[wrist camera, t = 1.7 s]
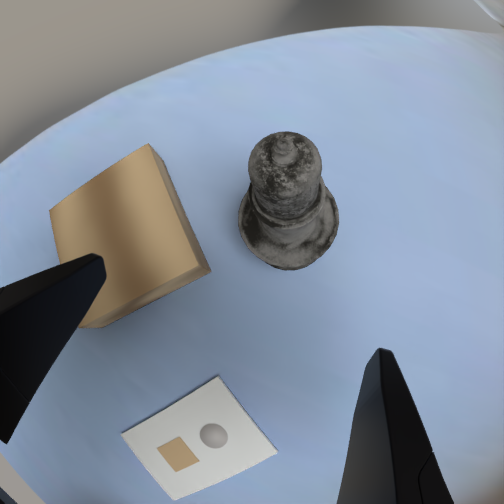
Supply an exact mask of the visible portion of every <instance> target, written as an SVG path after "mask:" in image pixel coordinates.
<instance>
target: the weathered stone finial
mask: <svg viewBox="0 0 504 504" xmlns="http://www.w3.org/2000/svg"><path fill="white" fill-rule="evenodd" d="M321 171H322V162H321V157H320V154H319V152H318V149H317V148H316V146H315V145H314V144H313V142H312V141H310V140H309V139H308V138H306V137H305V136H303V135H301V134H298V133H294V132H277V133H274V134H270V135H269V136H267V137H265V138H263V139H262V140H261V141H260V142H258V143H257V144H256V146H255V147H254V149H253V150H252V152H251V155H250V158H249V162H248V172H249V176H250V180H251V183H250V186H249V190H248V191H247V193H246V194H245V196H244V198H243V199H242V202H241V205H240V209H239V216H238V225H239V229H240V233H241V237H242V238H243V240H244V242H245V244H246V245H247V247H248V249H250V250H251V251H252V252H253V253H254V254H255V255H256V256H257V257H258V258H259V259H261V260H263V261H265V262H266V263H267V264H269V265H271V266H273V267H274V268H278V269H282V270H298V269H301V268H305V267H307V266H308V265H310V264H312V263H313V262H314V261H315V260H316V259H318V258H319V257H321V256H322V255H323V254H324V253H325V252H326V251H327V250H328V249H329V247H330V246H331V244H332V242H333V240H334V239H335V237H336V235H337V230H338V225H339V214H338V208H337V205H336V202H335V199H334V197H333V196H332V194H331V193H330V191H329V190H328V188H327V187H326V186H325V184H324V182H323V179H322V177H321Z"/></svg>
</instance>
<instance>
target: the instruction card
mask: <svg viewBox="0 0 504 504" xmlns="http://www.w3.org/2000/svg"><path fill="white" fill-rule="evenodd" d="M121 436H122V438H123V439H124V440H125V442H126V443H127V444H128V446H129V447H130V449H131V450H132V451H133V453H134V454H135V455H136V456H137V458H138V459H139V460H140V462H141V463H142V464H143V465H144V467H145V468H146V469H147V470H148V472H149V473H150V474H151V475H152V477H153V478H154V479H155V480H156V481H157V482H158V484H159V485H160V486H161V487H162V488H163V489H164V491H165V492H166V493H167V494H168V495H169V496H170V497H171V498H172V499H173V500H177V499H180V498H182V497H185V496H187V495H190V494H193V493H195V492H197V491H200V490H202V489H205V488H207V487H209V486H212V485H214V484H216V483H219V482H221V481H223V480H225V479H227V478H229V477H232V476H234V475H236V474H238V473H240V472H242V471H244V470H246V469H248V468H250V467H252V466H254V465H256V464H258V463H260V462H261V461H263V460H265V459H267V458H269V457H271V456H272V455H274V454H276V453H278V450H277V449H276V448H275V446H274V445H273V444H272V443H271V442H270V440H269V439H268V438H267V437H266V436H265V434H264V433H263V432H262V431H261V430H260V428H259V427H258V426H257V425H256V423H255V422H254V421H253V420H252V418H251V417H250V416H249V415H248V413H247V412H246V411H245V410H244V408H243V407H242V406H241V404H240V403H239V402H238V401H237V399H236V398H235V397H234V395H233V394H232V393H231V391H230V390H229V389H228V387H227V386H226V385H225V383H224V382H223V381H222V379H221V378H220V377H219V376H217V377H216V378H214V379H213V380H211V381H210V382H208V383H206V384H205V385H203V386H202V387H200V388H199V389H197V390H195V391H194V392H192V393H191V394H189V395H187V396H186V397H184V398H183V399H181V400H179V401H178V402H176V403H174V404H173V405H171V406H169V407H168V408H166V409H164V410H163V411H161V412H159V413H158V414H156V415H154V416H152V417H151V418H149V419H147V420H146V421H144V422H142V423H140V424H139V425H137V426H135V427H133V428H131V429H130V430H128V431H126V432H124V433H122V434H121Z"/></svg>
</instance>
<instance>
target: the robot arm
mask: <svg viewBox="0 0 504 504" xmlns="http://www.w3.org/2000/svg"><path fill="white" fill-rule="evenodd" d="M106 278H107V273H106V268H105V264H104V259H103V257H102V256H100V255H98V254H95V253H90V254H87V255H84V256H82V257H79V258H76V259H73V260H71V261H68V262H65V263H63V264H60V265H57V266H55V267H52V268H50V269H47V270H44V271H42V272H39V273H37V274H34V275H32V276H29V277H27V278H24V279H22V280H19V281H17V282H14V283H12V284H9V285H7V286H5V287H2V288H0V440H1V441H2V442H4V443H5V444H7V443H8V442H9V440H10V438H11V436H12V434H13V432H14V430H15V428H16V427H17V425H18V423H19V421H20V419H21V417H22V416H23V414H24V412H25V410H26V408H27V407H28V405H29V402H30V401H31V399H32V398H33V396H34V394H35V393H36V391H37V389H38V388H39V386H40V384H41V383H42V381H43V379H44V378H45V376H46V374H47V373H48V371H49V370H50V368H51V366H52V365H53V363H54V362H55V360H56V359H57V357H58V356H59V354H60V352H61V351H62V349H63V348H64V346H65V345H66V343H67V342H68V340H69V339H70V337H71V336H72V334H73V333H74V331H75V330H76V329H77V327H78V326H79V324H80V323H81V321H82V320H83V318H84V317H85V315H86V314H87V312H88V310H89V309H90V307H91V305H92V303H93V302H94V300H95V298H96V296H97V295H98V293H99V291H100V290H101V288H102V286H103V285H104V283H105V281H106ZM432 451H433V449H432V447H431V444H430V441H429V438H428V436H427V433H426V431H425V428H424V425H423V423H422V420H421V418H420V415H419V413H418V410H417V408H416V405H415V403H414V400H413V398H412V396H411V393H410V391H409V389H408V386H407V384H406V382H405V379H404V377H403V375H402V372H401V370H400V368H399V366H398V363H397V361H396V359H395V357H394V354H393V353H392V351H391V350H387V349H383V348H378V349H377V350H376V351H375V353H374V354H373V356H372V357H371V359H370V360H369V362H368V363H367V365H366V367H365V371H364V375H363V380H362V384H361V388H360V392H359V396H358V400H357V404H356V408H355V412H354V417H353V422H352V429H351V435H350V441H349V447H348V452H347V458H346V463H345V468H344V473H343V478H342V482H341V487H340V491H339V496H338V500H337V504H454V502H453V500H452V497H451V495H450V493H449V491H448V488H447V486H446V484H445V481H444V479H443V476H442V474H441V471H440V468H439V466H438V463H437V460H436V457H435V455H434V452H432ZM0 504H17V503H16V502H15V501H14V500H13V499H12V498H11V497H10V496H9V495H8V494H7V493H6V492H5V491H4V490H3V489H2V488H1V487H0Z"/></svg>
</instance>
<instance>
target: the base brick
mask: <svg viewBox="0 0 504 504" xmlns="http://www.w3.org/2000/svg"><path fill="white" fill-rule="evenodd" d="M49 212H50V218H51V223H52V229H53V234H54V239H55V244H56V248H57V253H58V257H59V261H60V264H63V263H65V262H68V261H71V260H73V259H76V258H79V257H82V256H84V255H87V254H90V253H95V254H98V255H100V256H102V257H103V259H104V264H105V268H106V273H107V278H106V281H105V283H104V285H103V286H102V288H101V290H100V291H99V293H98V295H97V296H96V298H95V300H94V302H93V303H92V305H91V307H90V309H89V310H88V312H87V314H86V315H85V317H84V318H83V320H82V321H81V323H80V324H79V326H78V327H79V328H102V327H104V326H106V325H108V324H110V323H112V322H114V321H116V320H118V319H120V318H122V317H124V316H126V315H128V314H130V313H132V312H134V311H136V310H138V309H140V308H142V307H143V306H145V305H147V304H149V303H151V302H153V301H155V300H157V299H159V298H161V297H163V296H165V295H167V294H169V293H171V292H173V291H175V290H177V289H179V288H181V287H183V286H185V285H187V284H189V283H190V282H192V281H194V280H196V279H198V278H200V277H202V276H204V275H206V274H208V273H210V272H211V270H210V267H209V265H208V263H207V261H206V259H205V256H204V254H203V252H202V250H201V247H200V245H199V243H198V241H197V239H196V236H195V234H194V232H193V229H192V227H191V225H190V223H189V220H188V218H187V216H186V213H185V211H184V209H183V206H182V204H181V202H180V199H179V197H178V195H177V192H176V190H175V188H174V185H173V183H172V181H171V178H170V176H169V173H168V171H167V169H166V166H165V164H164V161H163V160H162V159H161V157H160V156H159V155H158V154H157V153H156V152H155V150H154V149H153V148H152V147H151V146H150V144H149V143H148V144H146V145H144V146H143V147H141V148H139V149H138V150H136V151H134V152H133V153H131V154H129V155H128V156H126V157H125V158H123V159H121V160H120V161H118V162H117V163H115V164H114V165H112V166H110V167H109V168H107V169H106V170H104V171H103V172H101V173H100V174H98V175H97V176H95V177H94V178H93V179H91V180H90V181H88V182H87V183H85V184H84V185H83V186H81V187H80V188H78V189H77V190H76V191H74V192H73V193H71V194H70V195H69V196H67V197H66V198H65V199H63V200H62V201H61V202H59V203H58V204H57V205H55V206H54V207H53V208H52V209H50V210H49Z"/></svg>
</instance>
